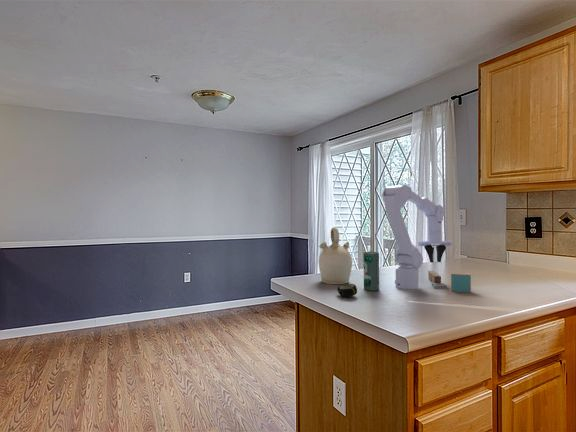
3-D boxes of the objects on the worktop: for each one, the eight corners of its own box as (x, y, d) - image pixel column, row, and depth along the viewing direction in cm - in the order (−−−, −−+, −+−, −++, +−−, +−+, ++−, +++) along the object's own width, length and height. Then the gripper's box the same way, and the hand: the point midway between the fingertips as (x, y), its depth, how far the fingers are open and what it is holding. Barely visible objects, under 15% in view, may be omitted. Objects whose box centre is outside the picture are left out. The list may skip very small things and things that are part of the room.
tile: (451, 291, 136) (451, 273, 136) (450, 290, 139) (450, 272, 139) (470, 292, 134) (470, 274, 134) (469, 291, 136) (469, 273, 136)
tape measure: (355, 290, 134) (353, 281, 133) (359, 296, 127) (357, 286, 127) (338, 294, 134) (336, 285, 133) (341, 300, 127) (339, 291, 126)
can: (363, 287, 146) (363, 251, 146) (378, 287, 145) (377, 251, 145) (364, 290, 140) (364, 253, 140) (379, 290, 139) (379, 253, 139)
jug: (317, 285, 151) (316, 228, 150) (320, 278, 166) (319, 226, 166) (352, 286, 148) (352, 228, 148) (352, 278, 164) (351, 226, 163)
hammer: (425, 279, 161) (425, 270, 161) (437, 279, 160) (436, 271, 159) (434, 288, 142) (434, 278, 142) (447, 288, 141) (447, 279, 141)
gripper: (422, 232, 149) (422, 263, 150) (455, 231, 149) (455, 263, 150) (416, 231, 156) (416, 261, 157) (447, 230, 156) (448, 260, 157)
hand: (435, 262), depth 154 cm, fingers open, 3 cm apart
